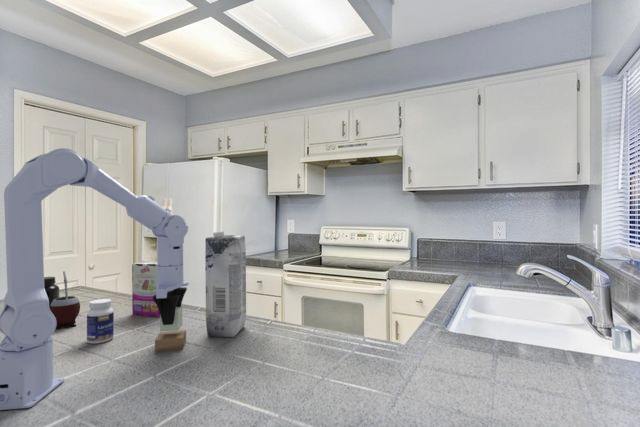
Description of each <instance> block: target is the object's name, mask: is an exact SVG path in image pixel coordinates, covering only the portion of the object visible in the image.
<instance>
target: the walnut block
mask: <svg viewBox="0 0 640 427" xmlns="http://www.w3.org/2000/svg"><path fill="white" fill-rule="evenodd" d="M186 342H187V329H179V330H176V331H159V333H158V335H157V336H156V338H155V340H154V353H161V352H171V351H172V352H173V351H182V350H184V348H185V344H186Z"/></svg>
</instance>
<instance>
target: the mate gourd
mask: <svg viewBox="0 0 640 427" xmlns="http://www.w3.org/2000/svg"><path fill="white" fill-rule="evenodd" d="M62 273H63V274H62V275H63V284H64V295H65V296H60V298H56V299H54V300H53V301H52V303H51V306H50V310H51V312H52V313H53V315H54V316H55V318H56V323H57V324H56V329H55V331H58V330H60V329H62V328H66V327H67V328H75V327H76V326H77V324H76V319H78V318H77V317H78V316H79V315H80V310H81V303H80V302H81V301H80V299H79V298H78V297H77V296H74V295H70V296H69V295H68V293H69V292H68V279H67V274H66V271H62Z"/></svg>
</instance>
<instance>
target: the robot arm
mask: <svg viewBox="0 0 640 427" xmlns="http://www.w3.org/2000/svg"><path fill="white" fill-rule="evenodd" d="M68 185H69V186H74V187H85V188H86V187H88V188H91V189H93V190H94V191H97V192H98V193H100V194H102V195H104V196H105V197H107V198H109V199H110V200H111V201H114V202H115V203H118V204H120V206H123V208H124V207H125V209H126V213H127V216H128V217H129V218H131V219H132V220H135V221H136V222H138V223H139V224H141V225H142V226H144V227H146V228H147V229H149V230H151V231H152V234H153V235H154V237H156V245H157V246H156V250H157V251H156V253H157V255H156V257H157V260H156V262H157V265H158V266H157V273H158V284H157V290H156V294H155V295H154V296H153V300H154V302H155V303H156V305H157V307H158V309H159V312H160V315H161V319H162V323H163V325H172V324H173V322H174V318H175V310H176V307H182V303H183V300H184V297H185V294H186V293H187V290H188V287H187V286H189V281H185V280H184V242H185V241H184V240H185V237H186V235H187V234H188V231H189V226H188V225H187V224H186V222H185V219H184V218H183V217H182V216H181V215H178V214H177V215H176V214H174V215H173V214H172V213H171V212H172V210H171V209H169V208H165V207H163V206H162V205H160V204H159V203H158V202H156V201H155V200H156V198H155V197H153V196H152V195H148V196H147V195H145V194H142V195H137V194H135V193H133V192H132V191H131V190H129V189H128V188H127V187H125V186H124V185H122V184H121V183H120V182H119V181H117V180H116V179H114V177H112V176H111V175H109V174H107V173H106V172H105V171H103V170H102V169H101V168H100V167H99V166H98V165H96V163H94V162H93V161H92V160H90V159H88V158H86V157H82V155H80V154H79V152H77V151H76V150H74V149H70V148H65V147H64V148H63V147H61V148H55V149H53V150H51V151H49V152H47V153H42V154H39V155H38V156H36V157H33V158H31V159H30V160H27V161H26V162H25V163H24V164H23V165H22V167H21V169H20V170H19V171H18V172H17V173H16V175H15V176H14V177H13V178H12V179H11V181H10V182H8V184H7V185H5V187H4V192H3V197H4V198H3V199H4V200H3V201H4V202H3V203H4V224H5V225H4V228H5V231H4V233H5V254H6V255H5V256H6V259H5V260H6V282H7V284H6V287H7V291H6V293H5V296H4V298H3V309H2V311H1V313H0V332H1V333H2V334H4V335H5V336H4V337H3V339H2V340H1V342H0V411H7V410H18V409H28V408H29V409H30V408H31V407H33V406H34V405H36V404H37V403H38V402H39V401H41V400H42V399H43V398H45V397H46V396H47V395H48V394H49V393H50V392H53V390H55V389H56V388H57V387H58V386H60V385H61V384H62V383H64V382H65V378H64V377H60V378H59V377H58V378H56V377H55V378H54V346H53V345H54V340H53V338H54V336H53V335H54V333H55V331H56V330H55V329H56V324H57V323H56V318H55V316H54V315H53V313H52V312H51V310H50V308H49V299H48V296H47V294H46V291H45V288H44V277H45V275H44V274H45V272H44V271H45V269H44V268H45V267H44V244H43V243H44V242H43V241H44V240H43V238H44V237H43V212H42V211H43V210H42V206H43V205H42V201H43V200H44V199H46V198H47V197H48V196H49V195H51V194H53V193H54V192H55V191H57V190H58V189H60V188H62V187H65V186H68Z"/></svg>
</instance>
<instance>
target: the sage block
mask: <svg viewBox="0 0 640 427" xmlns="http://www.w3.org/2000/svg"><path fill="white" fill-rule="evenodd" d="M182 326H183V306H181V307H176V310H175V318H174V322H173V324H172V325H163V323H162V319H161V315H160V317H159V332H164V331H176V330H181V329H180V328H181V327H182Z"/></svg>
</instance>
